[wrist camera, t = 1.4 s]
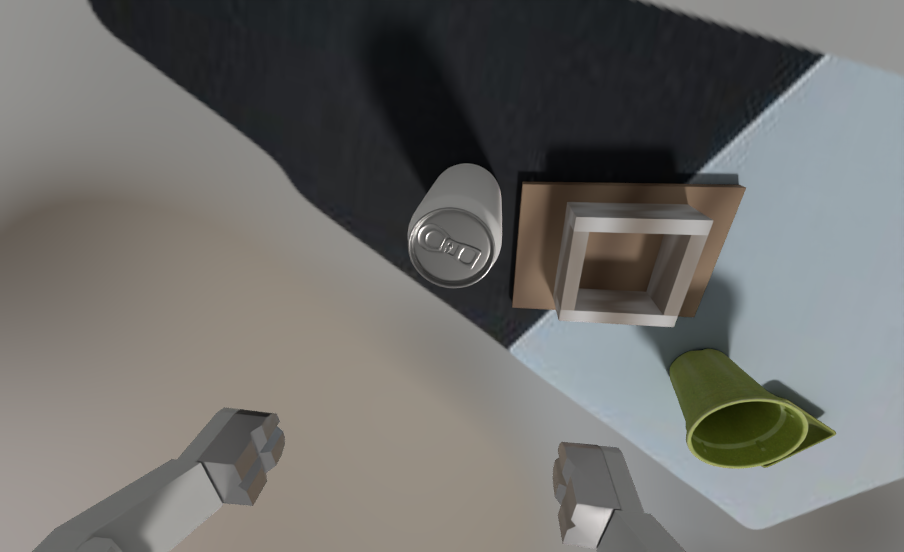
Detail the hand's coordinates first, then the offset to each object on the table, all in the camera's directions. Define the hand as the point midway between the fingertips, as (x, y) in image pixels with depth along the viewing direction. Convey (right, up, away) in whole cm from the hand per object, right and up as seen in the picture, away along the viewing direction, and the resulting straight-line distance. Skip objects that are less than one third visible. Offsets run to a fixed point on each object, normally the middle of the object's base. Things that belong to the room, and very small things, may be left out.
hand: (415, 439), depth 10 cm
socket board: (+17, +7, +24) cm, 30 cm away
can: (+3, +12, +23) cm, 26 cm away
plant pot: (+29, -6, +29) cm, 41 cm away
